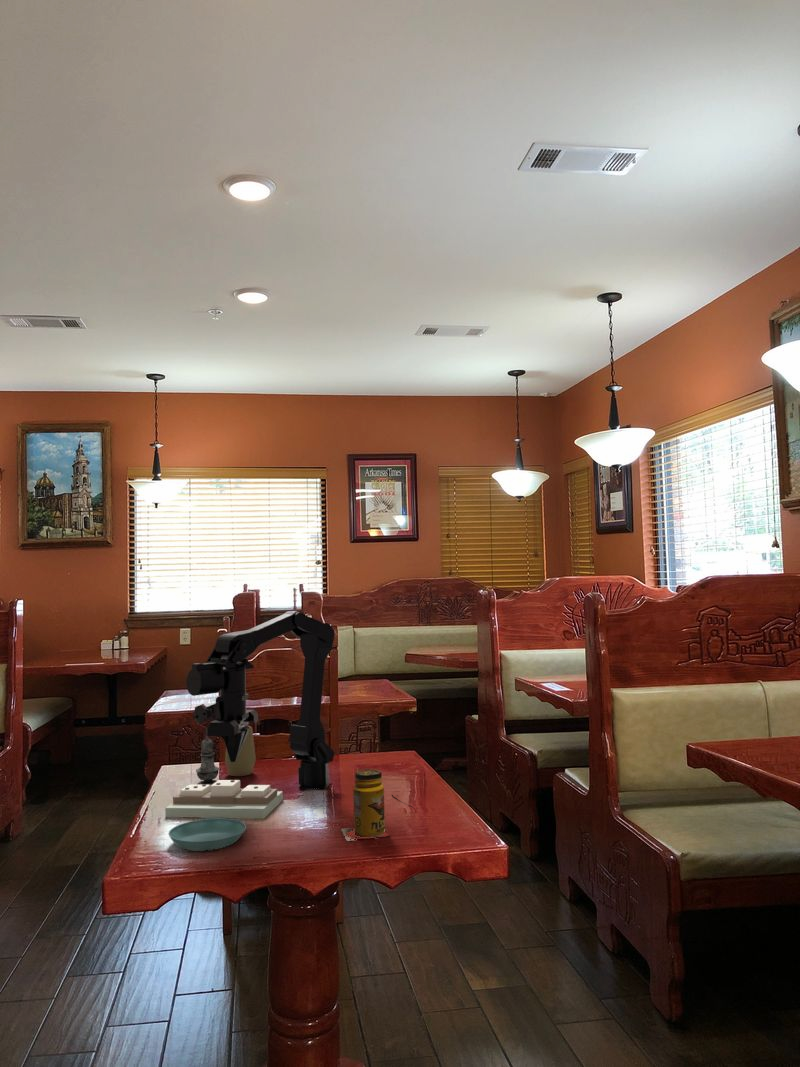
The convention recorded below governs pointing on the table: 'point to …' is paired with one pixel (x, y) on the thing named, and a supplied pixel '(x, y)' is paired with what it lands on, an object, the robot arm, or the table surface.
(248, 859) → the table surface
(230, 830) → the saucer
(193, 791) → the three-pip key
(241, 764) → the squeeze bottle
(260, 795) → the one-pip key
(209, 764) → the grey tall tapered piece
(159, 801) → the table surface
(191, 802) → the board
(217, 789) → the two-pip key
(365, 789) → the condiment
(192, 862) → the table surface
